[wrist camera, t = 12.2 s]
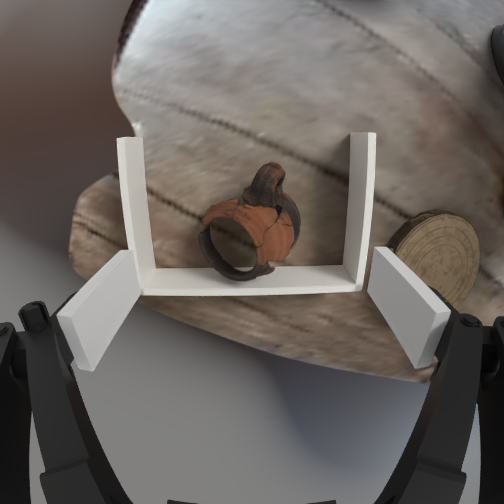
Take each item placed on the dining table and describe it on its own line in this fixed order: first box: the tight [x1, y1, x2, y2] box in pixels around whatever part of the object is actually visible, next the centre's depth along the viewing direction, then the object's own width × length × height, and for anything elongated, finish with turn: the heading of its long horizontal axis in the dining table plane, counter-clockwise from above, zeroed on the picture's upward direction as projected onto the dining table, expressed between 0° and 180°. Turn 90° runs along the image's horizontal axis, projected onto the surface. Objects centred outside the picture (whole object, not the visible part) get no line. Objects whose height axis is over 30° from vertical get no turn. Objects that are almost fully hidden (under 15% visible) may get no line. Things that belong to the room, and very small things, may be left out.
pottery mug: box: [198, 162, 300, 281], centre depth 29 cm, size 12×10×8 cm
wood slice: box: [387, 209, 480, 309], centre depth 33 cm, size 16×16×3 cm
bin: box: [117, 132, 376, 296], centre depth 28 cm, size 24×16×5 cm
